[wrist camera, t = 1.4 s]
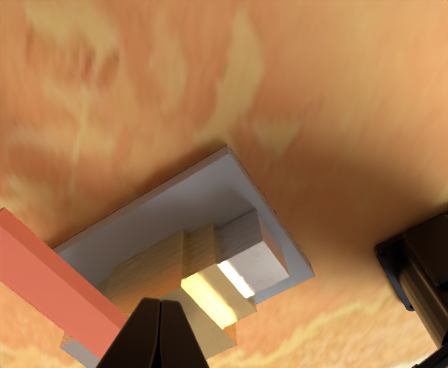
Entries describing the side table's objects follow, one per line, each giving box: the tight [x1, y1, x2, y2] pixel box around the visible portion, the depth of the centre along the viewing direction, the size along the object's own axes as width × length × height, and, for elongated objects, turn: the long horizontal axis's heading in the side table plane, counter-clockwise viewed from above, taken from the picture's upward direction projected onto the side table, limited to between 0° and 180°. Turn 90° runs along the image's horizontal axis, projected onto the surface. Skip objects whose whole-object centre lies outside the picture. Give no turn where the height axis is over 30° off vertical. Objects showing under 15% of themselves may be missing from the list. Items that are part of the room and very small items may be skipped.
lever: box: [0, 207, 128, 359], centre depth 17 cm, size 12×3×1 cm, turn 32°
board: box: [52, 145, 315, 304], centre depth 25 cm, size 10×14×1 cm
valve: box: [60, 209, 290, 368], centre depth 22 cm, size 5×13×6 cm, turn 122°
